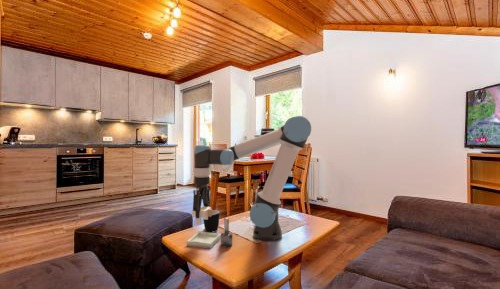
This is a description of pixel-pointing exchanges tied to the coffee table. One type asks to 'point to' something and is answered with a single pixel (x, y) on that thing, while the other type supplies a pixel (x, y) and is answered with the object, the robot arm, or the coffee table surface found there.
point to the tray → (204, 239)
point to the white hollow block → (204, 212)
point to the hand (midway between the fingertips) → (201, 221)
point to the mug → (212, 222)
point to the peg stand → (226, 234)
